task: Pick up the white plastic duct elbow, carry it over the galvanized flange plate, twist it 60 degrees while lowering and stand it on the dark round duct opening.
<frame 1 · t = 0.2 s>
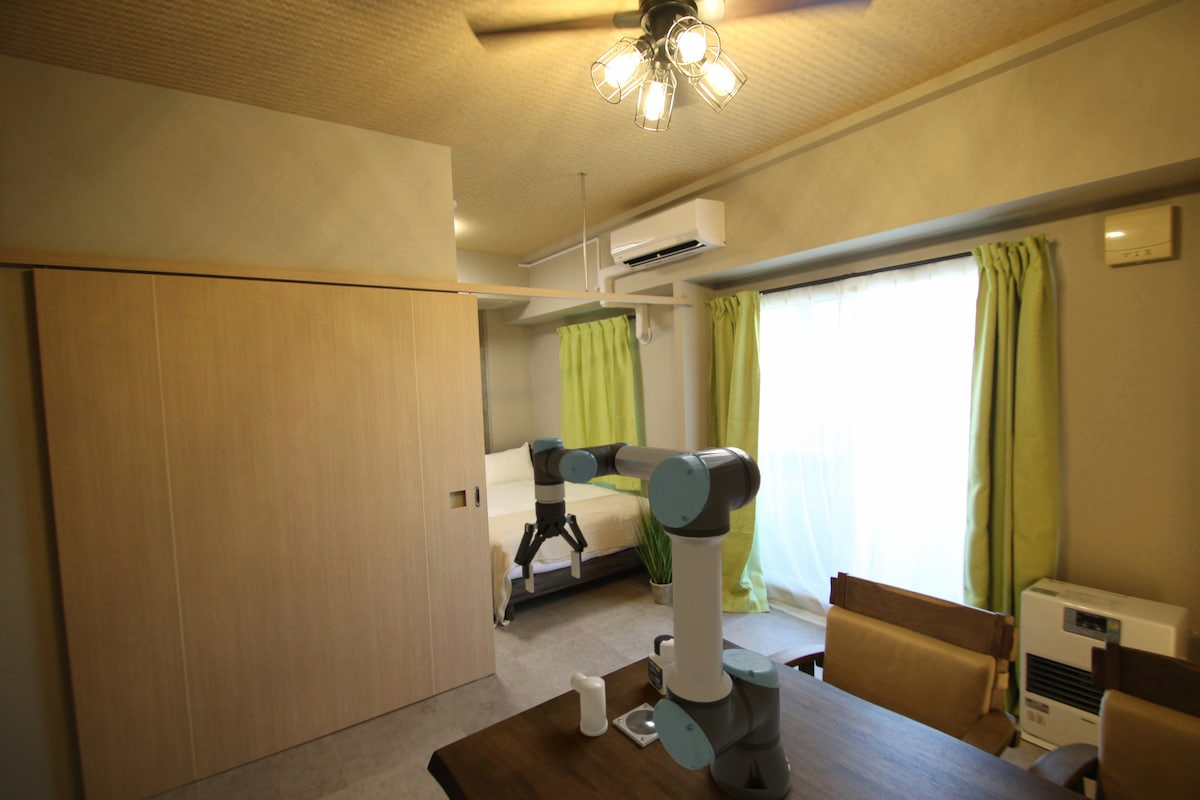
hand: (553, 583, 132), 27 cm above the table, fingers open, 13 cm apart
elbow: (593, 727, 118), on the table
medicine bottle: (667, 685, 134), on the table
flange plate: (644, 725, 118), on the table
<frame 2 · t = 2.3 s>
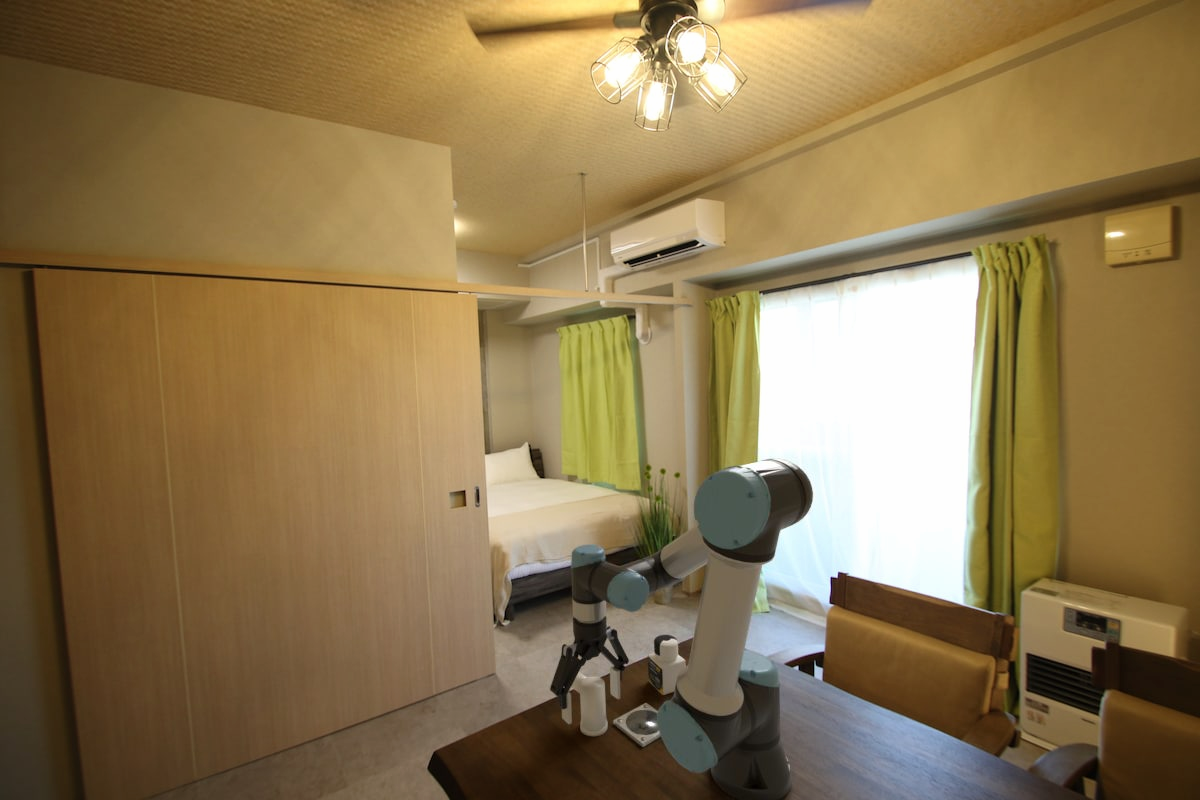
hand: (592, 708, 119), 4 cm above the table, fingers open, 13 cm apart
nothing on the table moved.
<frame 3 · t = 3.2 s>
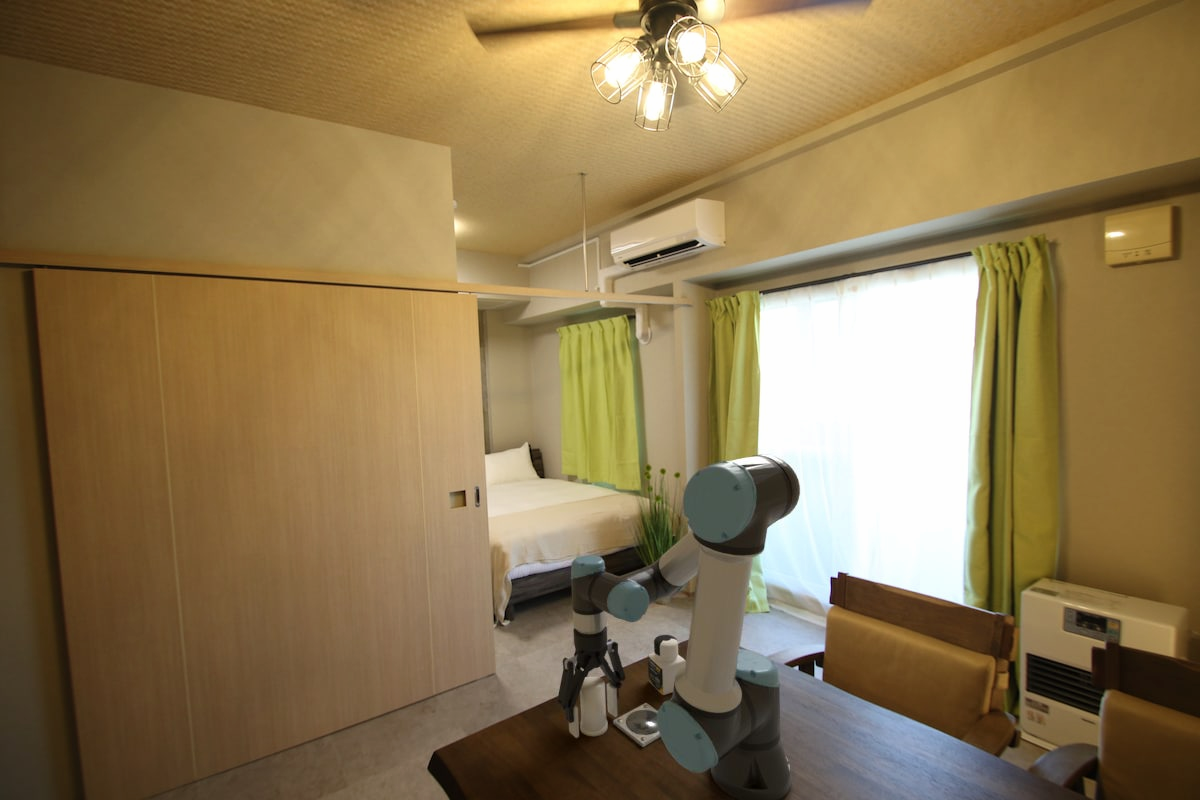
hand: (593, 723, 118), 1 cm above the table, fingers open, 10 cm apart
nothing on the table moved.
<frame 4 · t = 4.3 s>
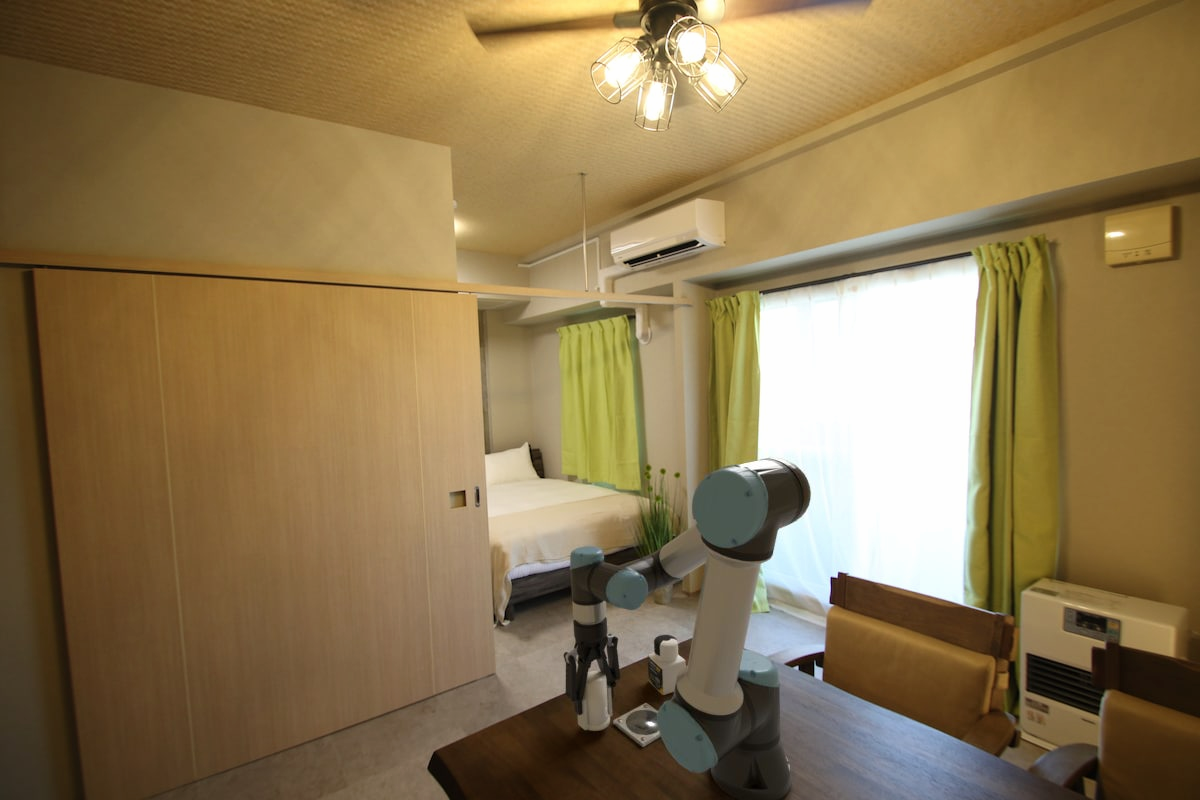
hand: (595, 719, 118), 2 cm above the table, fingers closed on elbow, 6 cm apart
elbow: (596, 721, 118), point 2 cm above the table, touching gripper
everything else where it was.
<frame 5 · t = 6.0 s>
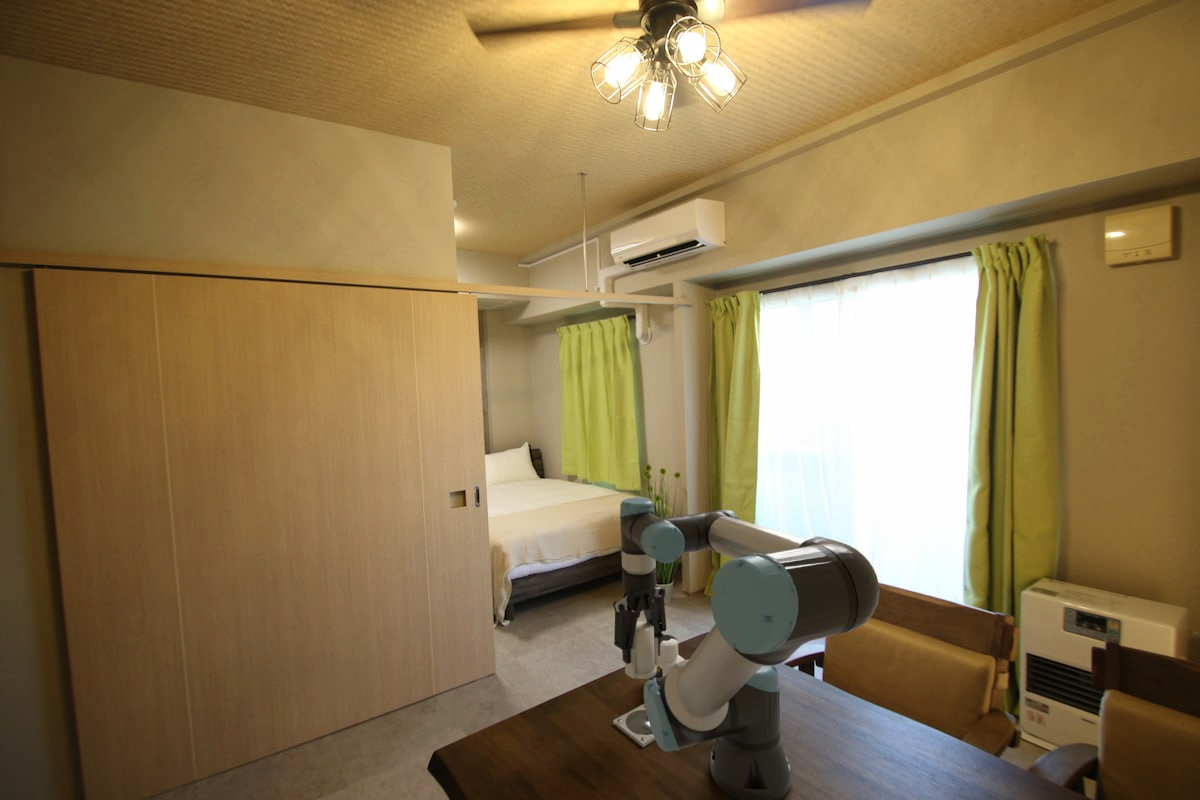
hand: (642, 669, 118), 13 cm above the table, fingers closed on elbow, 6 cm apart
elbow: (642, 671, 118), point 12 cm above the table, touching gripper
everything else where it was.
when the fingers open (2 cm above the table, at t = 7.9 s): elbow stays where it is, resting on flange plate.
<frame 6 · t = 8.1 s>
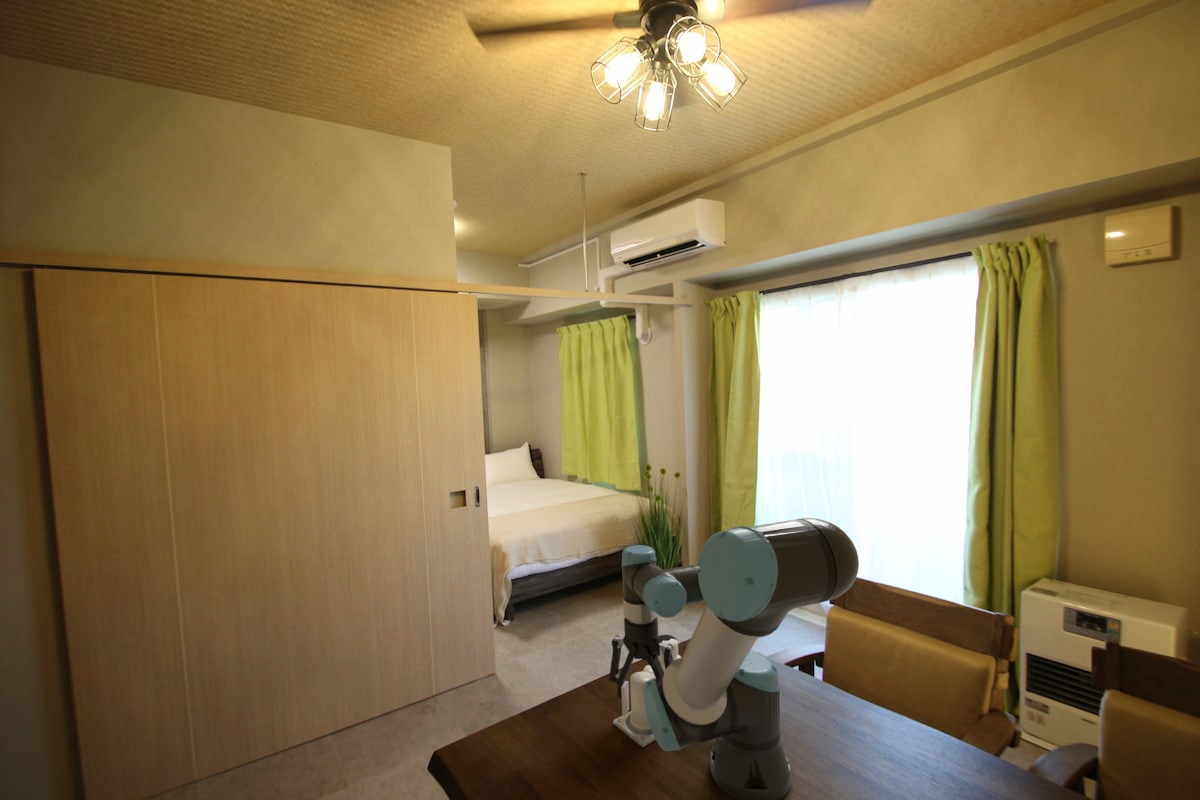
hand: (644, 716, 118), 2 cm above the table, fingers open, 8 cm apart
elbow: (644, 722, 118), point 1 cm above the table, touching flange plate
everything else where it was.
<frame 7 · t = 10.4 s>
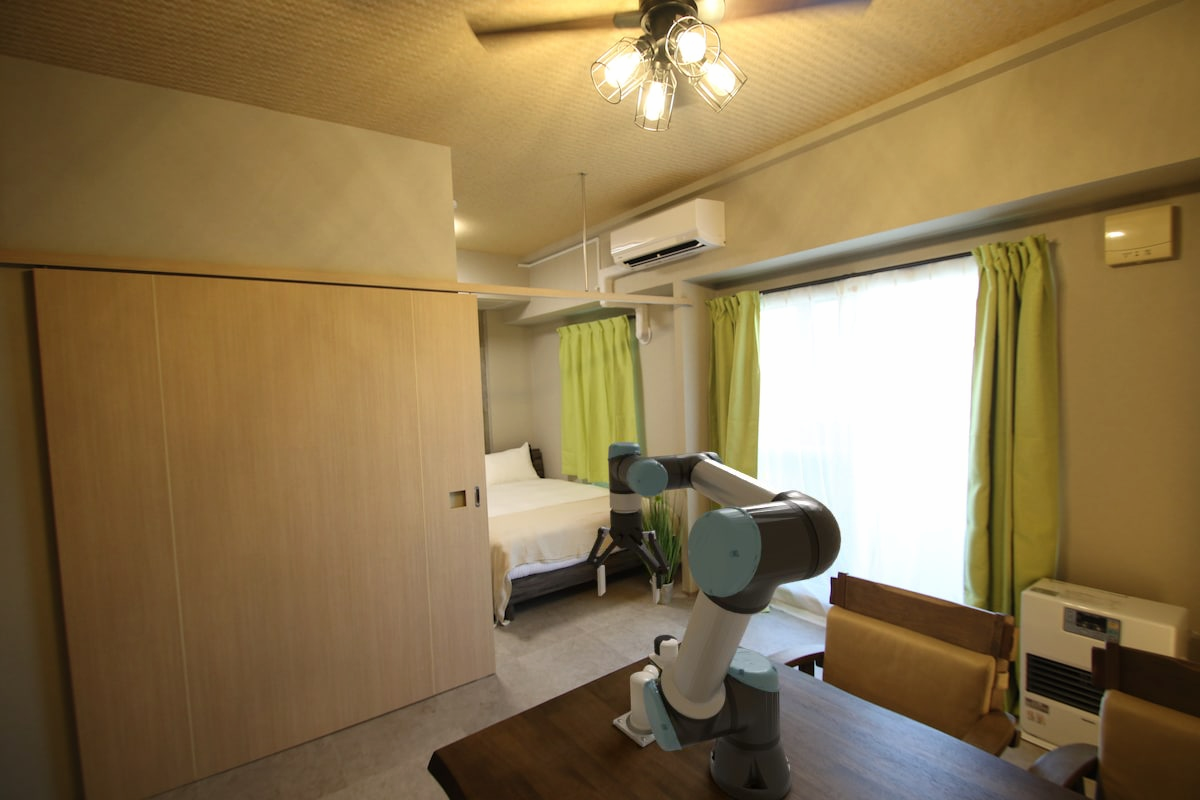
hand: (628, 597, 124), 26 cm above the table, fingers open, 13 cm apart
nothing on the table moved.
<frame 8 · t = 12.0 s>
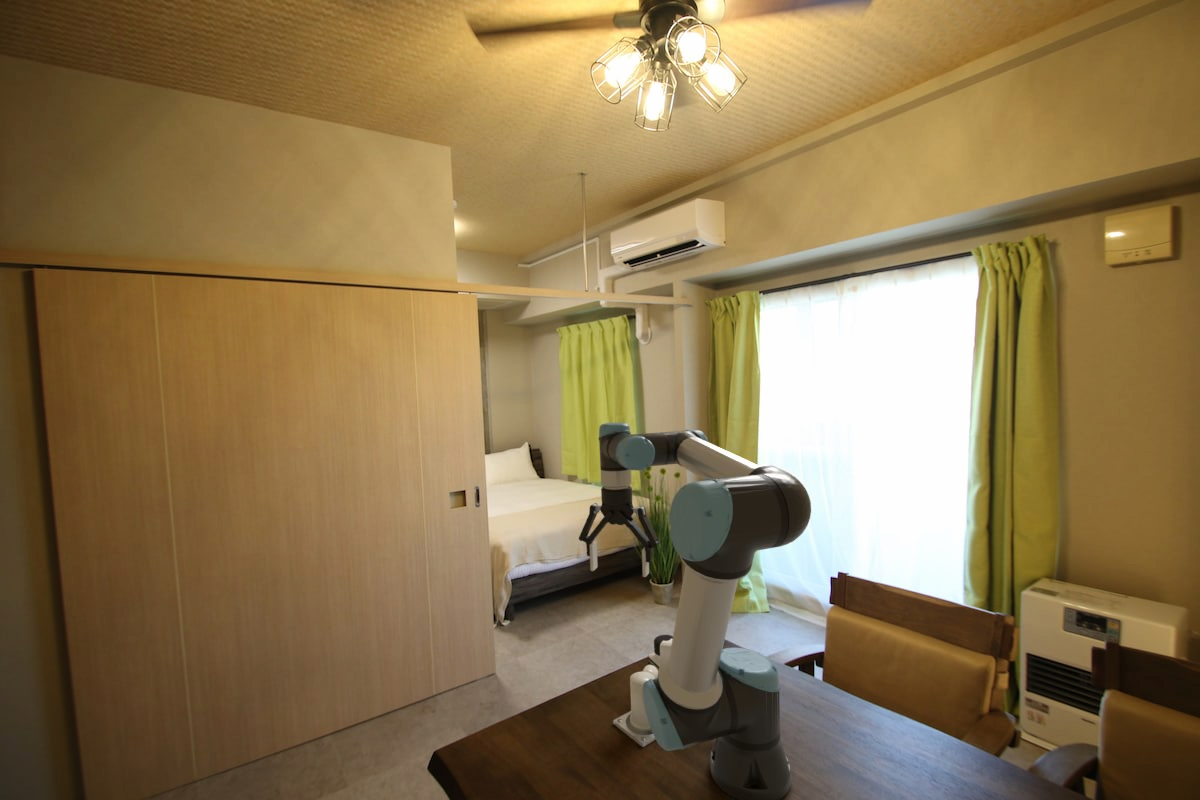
hand: (619, 572, 129), 31 cm above the table, fingers open, 13 cm apart
nothing on the table moved.
at the end: elbow inside the target area on the flange plate (0.2 cm from its centre), point 0.9 cm above the flange plate's base; elbow tilted 0°; the gripper is holding nothing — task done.
